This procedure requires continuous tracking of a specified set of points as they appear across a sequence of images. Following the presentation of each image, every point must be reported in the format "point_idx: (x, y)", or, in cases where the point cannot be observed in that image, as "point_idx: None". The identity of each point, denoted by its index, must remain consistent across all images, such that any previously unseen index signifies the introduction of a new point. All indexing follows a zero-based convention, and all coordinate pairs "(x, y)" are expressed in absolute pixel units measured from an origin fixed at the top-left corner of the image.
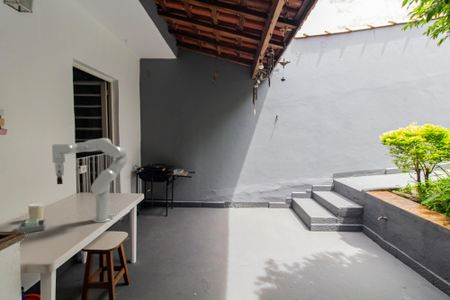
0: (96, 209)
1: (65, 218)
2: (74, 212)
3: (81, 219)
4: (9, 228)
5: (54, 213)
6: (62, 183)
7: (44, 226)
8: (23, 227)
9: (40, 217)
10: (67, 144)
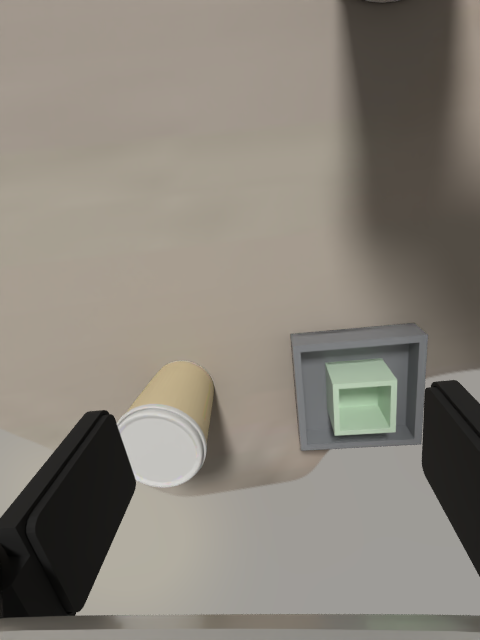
0: None
1: (214, 236)
2: (79, 190)
3: (289, 116)
4: (282, 468)
5: (71, 316)
6: (456, 381)
7: (381, 331)
8: (319, 421)
9: (201, 376)
10: None
